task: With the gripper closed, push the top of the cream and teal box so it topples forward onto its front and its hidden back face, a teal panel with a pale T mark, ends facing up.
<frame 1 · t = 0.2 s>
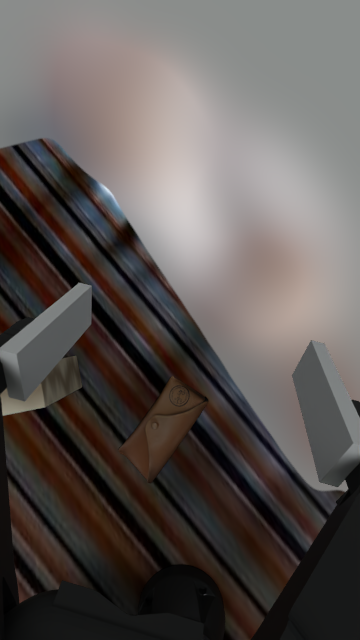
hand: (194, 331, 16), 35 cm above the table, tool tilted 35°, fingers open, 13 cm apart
cream and teal box: (61, 375, 52), on the table
sunglasses case: (162, 424, 52), on the table
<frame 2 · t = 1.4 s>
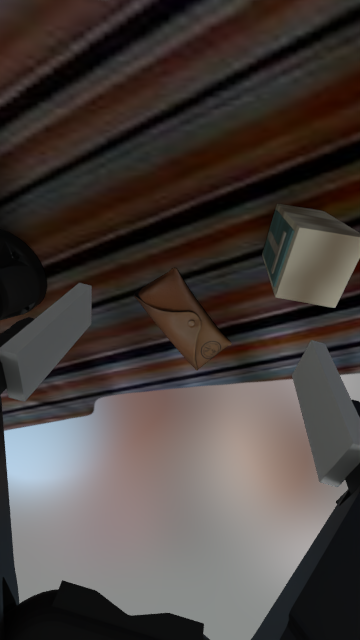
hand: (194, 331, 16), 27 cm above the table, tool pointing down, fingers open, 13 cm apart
cream and teal box: (291, 234, 38), on the table
sunglasses case: (186, 316, 48), on the table
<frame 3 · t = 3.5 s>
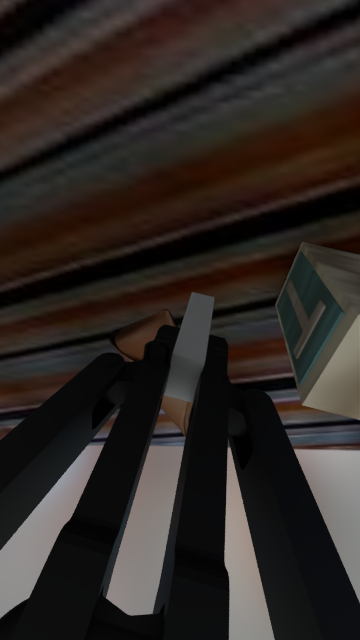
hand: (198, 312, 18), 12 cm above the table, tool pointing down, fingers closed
cream and teal box: (317, 282, 28), on the table
sunglasses case: (176, 367, 37), on the table
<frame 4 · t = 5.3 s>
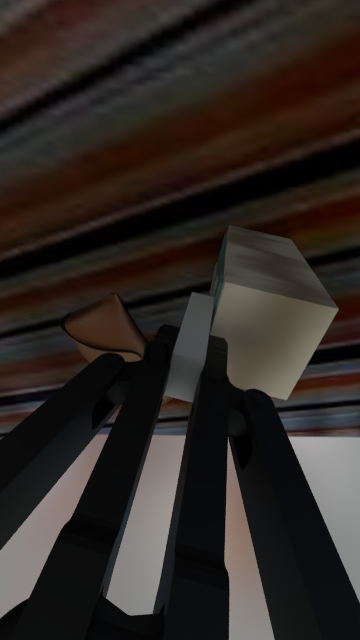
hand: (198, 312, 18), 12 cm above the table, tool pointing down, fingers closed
cream and teal box: (248, 266, 28), on the table, touching gripper
sunglasses case: (131, 353, 38), on the table
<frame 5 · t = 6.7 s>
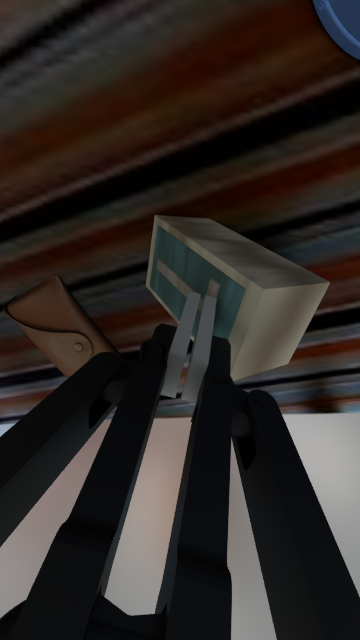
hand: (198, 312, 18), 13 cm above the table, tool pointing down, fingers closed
cream and teal box: (177, 252, 28), point 2 cm above the table, tilted 37°, touching gripper
sunglasses case: (81, 335, 38), on the table
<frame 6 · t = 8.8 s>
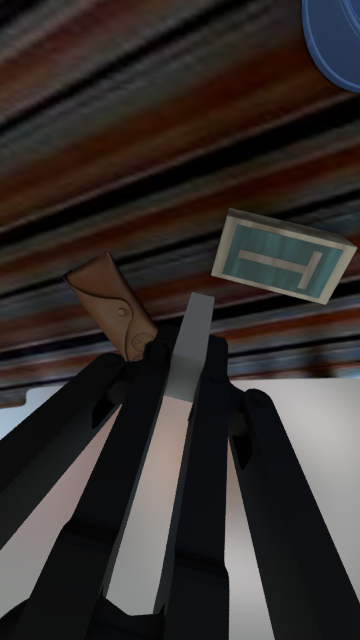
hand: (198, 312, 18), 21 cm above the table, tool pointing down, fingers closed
cream and teal box: (220, 240, 34), point 3 cm above the table, tilted 90°
sunglasses case: (121, 305, 46), on the table
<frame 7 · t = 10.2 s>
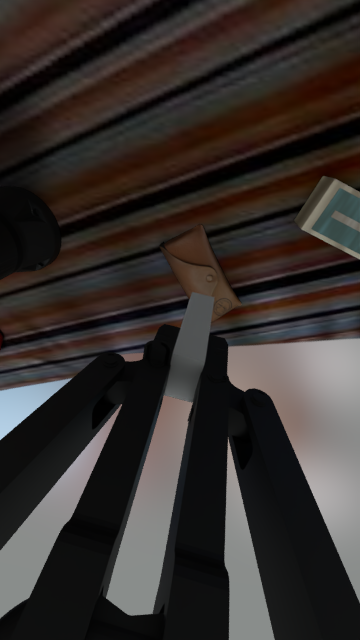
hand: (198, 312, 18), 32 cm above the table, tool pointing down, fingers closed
cream and teal box: (312, 201, 40), point 3 cm above the table, tilted 90°
sunglasses case: (203, 274, 52), on the table
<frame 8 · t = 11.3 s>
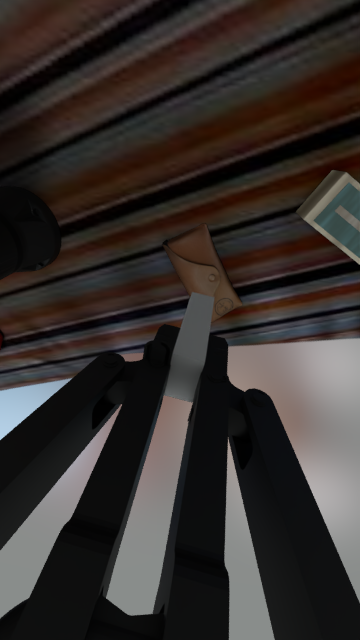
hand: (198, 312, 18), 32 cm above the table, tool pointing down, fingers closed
cream and teal box: (317, 194, 39), point 3 cm above the table, tilted 90°
sunglasses case: (205, 273, 52), on the table
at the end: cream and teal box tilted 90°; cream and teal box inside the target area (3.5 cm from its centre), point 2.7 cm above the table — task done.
